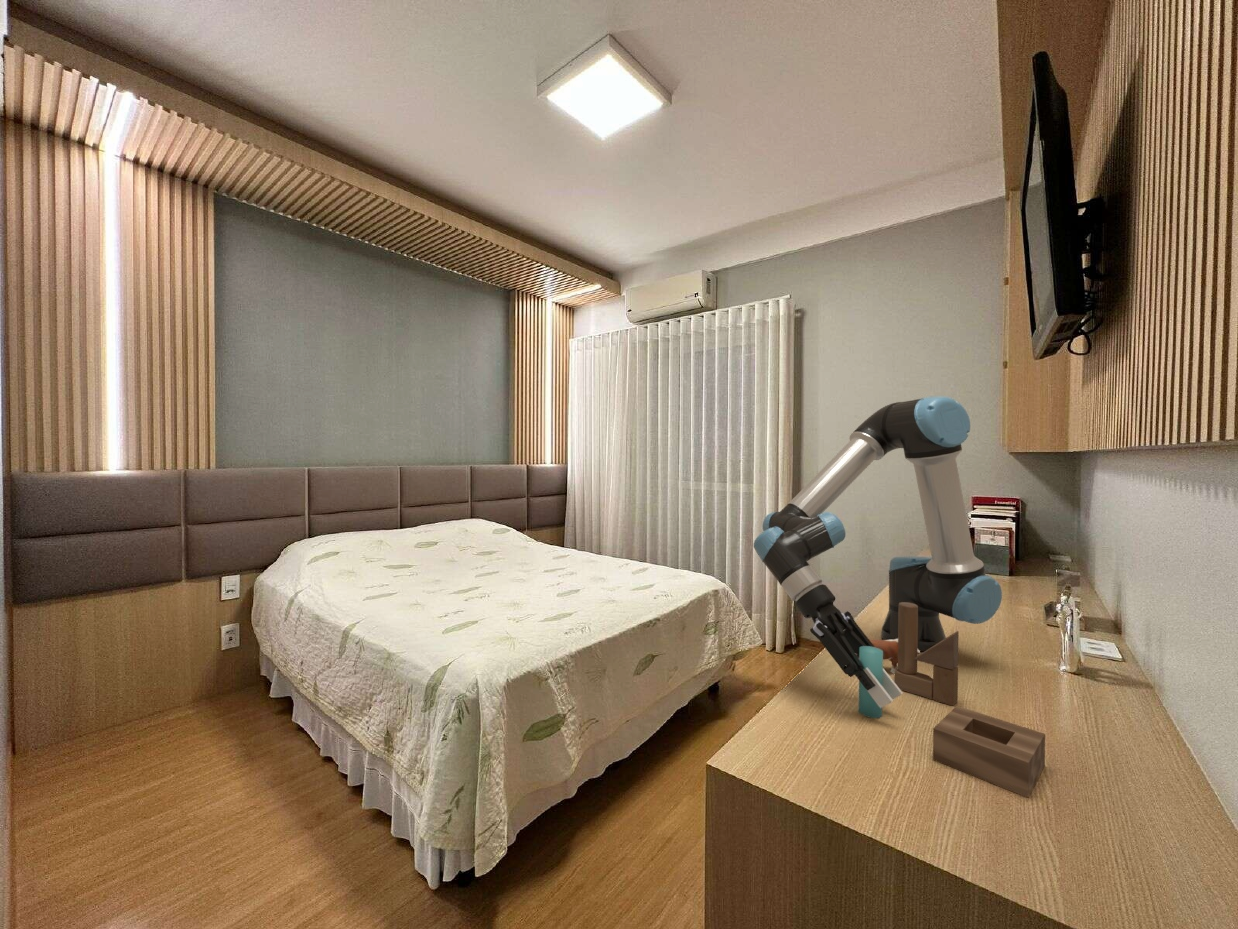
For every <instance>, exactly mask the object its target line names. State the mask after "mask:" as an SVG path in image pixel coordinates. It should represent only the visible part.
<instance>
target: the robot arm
mask: <svg viewBox="0 0 1238 929" xmlns="http://www.w3.org/2000/svg"><path fill="white" fill-rule="evenodd" d="M970 431H971V421H970V416H969V414H968V412H967V410H966V408H965V407H964V406H963V405H962V404H961V403H960V402H958V401H956V400H955V399H954V398H952V397H948V396H928V397H927V396H926V397H922V398H917V399H912V400H905V401H898V402H892V403H890V404H887V405H884V406H883V407H882V408H880V409H878V410H876V411H875V412H874V413H872V414H871V415H870V416H869V417H867V419H865V420H864V421H863V422H862V423H861V424H860V425H859V426H858V427H857V428H855V430H854V431H852V433H850V435H849V441H848V442H847V443H846V444H845V445H844V447H843V448H841V450H839V452H838V453H836V455H835V456H834V457H833V458H831V460H830V461H828V463H826V465H825V466H824V467H823V468H822V469H821V470H820V471H819V472H818V473H816V475H815V476H813V477H812V479H811V480H810V481H809V482H808V483H807V484H806V485H805V486H804V487H803V488H802V489H801V490H800V491H799V492H798V493H797V494H796V495H795V496H794V497H792V499H791V500H790V501H789V502H788V503H787V504H786V505H785V506H784V507H783V508H782V509H781V510H780V511H773V512H770V513H769V514H766V516H765V517H764V519H763V522H762V530H763V532H761V533H760V534H759V535H758V536H757V537H756V538H755V540H754V542H753V548H754V551H755V552H756V554H757V556H758V557H759V559H760V560H761V562H762V563H763V564H764V565H765V566H766V568H767V569H768V570H769V572H770V573H771V574H772V575H773V576H774V578H775V580H777V582H778V583H779V584H780V586H781V588H782V589H783V590H784V591H785V593H786V595H788V597H789V598H790V600H791V601H792V602H795V607H796V608H797V609H798V610H799V612H800V614H801V615H802V616H803V617H804V619H810V618H811V620H812V622H813V624H814V625H813V626H812V627H811V628H810V629H809V630H810V632H811V634H813V635H814V637H815V638H817V639H818V641H819V642H820V643H821V644H822V646H823V647H824V649H825V650H826V651H827V652H828V653H829V654H830V656H831V657H832V658H833V660H834V661H835V662H836V664H837V665H838V666H839V667H840V669H841V670H842V672H843V673H844V674H845V675H847V676H848V677H850V678H852V677H853V676H855V677H856V678H857V680H858V682H859V681H860V682H861V683H862V685H863V686H864V687H865V689H866V690H867V691H868V693H869V694H870V695H871V697H872V698H873V699H874V701H875V702H876V703H877V705H878V706H879V707H880V708H882V709H883V707H885V706H887V705H889V704H891V703H892V702H894V700H895V699H896V698H898V697H900V696H901V695H903V693H904V692H903V690H900V689H899V687H898V686H897V685H896V684H895V682H894V679H892V678H893V677H891V676H890V674H888V672H887V671H886V670H885V668H884V667H883V686H882V685H881V684H880V683H879V681H878V680H877V679H876V677H875V676H874V675H873V674H872V672H871V671H870V670H869V669H868V667H867V668H865V669H864V666H863V665H862V663H861V662H860V660H859V658H858V657H859V649H860V647H861V646H871V647H874V645H873V644H872V643H871V642H870V640H869V639H870V638H868V636H867V635H866V634H865V632H864V631H863V629H861V627H860V626H859V624H857V622H856V620H855V619H854V617H853V615H852V613H851V612H850V611H848V610H847V611H845V612H844V613H843V612H841V610H839V608H837V607H836V606H835V605H834V602H835V601H836V596H835V595H834V594H833V593H832V591H831V590H830V589H829V587H828V586H827V585H826V584H823V580H822V578H821V577H820V576H819V575H818V574H817V572H816V571H815V570H814V568H813V567H812V566H811V564H809V562H808V561H810V560H811V559H813V558H816V557H817V556H819V555H820V554H823V553H825V552H826V551H829V550H830V549H832V548H833V549H834V548H835V547H836V546H837V545H839V544H840V543H842V542H843V541H844V540H845V538H846V528H845V526H844V524H843V522H842V521H841V519H840V518H839V517H838V516H837V515H836V514H835V513H832V512H830V511H826V510H827V509H828V508H829V507H830V506H831V505H832V504H833V503H834V502H835V501H836V500H837V499H838V497H840V496H841V495H842V494H843V493H844V491H845V490H846V489H848V488H849V486H850V485H851V484H852V483H853V482H855V480H856V479H857V478H858V477H859V476H860V475H861V474H862V473H863V472H864V471H865V470H867V468H868V467H869V466H870V465H871V464H872V463H873V461H879V460H881V459H883V458H884V456H885V455H887V454H888V453H889V452H892V451H893V450H897V449H903V452H904V458H905V460H906V461H909V462H910V463H912V464H913V467H914V472H915V478H916V484H917V488H918V492H919V493H918V494H919V498H920V504H921V509H922V514H923V520H924V524H925V525H924V526H925V530H926V534H927V538H928V546H929V550H930V555H931V556H895V557H892V558H891V559H890V561H889V569H888V612H887V614H886V617H885V620H884V622H883V625H882V627H881V630H880V632H881V634H880V636H881V637H882V638H883V639H882V638H881V637H880V638H881V639H882V640H891V639H892V640H894V639H898V609H899V603H901V602H908V603H913V604H916V605H917V606H918V649H919V651H924V652H925V651H926V650H928V649H929V648H931V647H933V646H934V645H936V644H937V643H939V642H941V641H942V640H944V639H945V638H947V636H946V634H945V631H944V628H943V625H942V622H941V618H940V614H941V615H944V616H947V617H950V618H951V619H952V618H953V619H955V620H957V621H958V622H965V623H969V624H971V625H972V624H973V625H976V624H977V625H979V624H980V625H981V624H983V623H985V622H987V621H990V619H992V618H993V617H994V616H995V615H996V613H997V611H998V610H999V609H1000V607H1001V603H1002V599H1003V591H1002V588H1001V585H1000V583H999V582H998V581H997V580H996V579H995V578H993V577H992V576H990V575H986V570H985V566H984V565H985V564H984V562H983V561H982V560H981V559H979V558H978V557H977V556H975V554H974V549H973V548H974V547H973V543H972V538H971V533H970V526H969V523H968V516H967V512H966V506H965V500H964V496H963V495H964V494H963V490H962V486H961V485H962V484H961V480H960V474H959V470H958V464H957V460H956V459H957V457H958V456H959V455H960V454H961V452H962V451H963V446H962V444H963V443H965V441H966V440H967V439H968V437H969V434H968V433H970ZM857 656H858V657H857ZM863 669H864V670H863Z"/></svg>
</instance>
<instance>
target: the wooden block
mask: <svg viewBox="0 0 1238 929" xmlns="http://www.w3.org/2000/svg"><path fill="white" fill-rule="evenodd" d="M917 649H918V606H917V605H916V604H913V603H908V602H901V603H899V609H898V663H897V666H898V669H897V670H895V675H894V679H893V681H894V682H895V684H896V685H897V686H898V687H899V689H900V690H901V691H904V692H907V693H910V694H913V695H917V696H920V697H923V698H927V699H929V700H933V701H935V702H939V703H942V704H944V705H948V706H951V707H953V706H954V705H955V704H956V703H957V701H959V700H958V698H959V697H958V695H959V691H958V687H959V667H958V666H959V630H957V631H955V632H954V633H952V634H950V635H948V636H946V638H945V639H944V640H942V641H941V642H939V643H937V644H936V645H934V646H933V647H931V648H929V649H928V650H926V651H925V652H920V654H918V655H917ZM918 662H922V663H926V664H929V665H933V666H932V667H933V668H932V671H933V672H932V675H933V676H932V677H931V676H930V675H928V674H926V673H922V672H919V671H918Z"/></svg>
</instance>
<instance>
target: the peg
mask: <svg viewBox="0 0 1238 929" xmlns="http://www.w3.org/2000/svg"><path fill="white" fill-rule="evenodd" d="M859 660H860V662H861V663H862V665H863V666H864V669H865V668H867V667H868V669H869V670H870V671H871V672H872V674H873V675H874V676H875V677H876V679H877V680H878V681H879V683H880V684H881V685H882V686H883V668H884V660H883V651H882V650H881V649H879V648H876V647H871V646H861V647H860V649H859ZM864 669H863V670H864ZM858 712H859V714H861V715H862V716H864V717H868V718H872V719H880V718H881V717H883V707H882V708H880V707H879V706H878V705H877V703H876V702H875V701H874V699H873V698H872V697H871V695H870V694H869V693H868V691H867V690H866V689H865V687H864V686H863V685H862V683H861V682H860V681H859V680H858Z"/></svg>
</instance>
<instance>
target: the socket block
mask: <svg viewBox="0 0 1238 929" xmlns="http://www.w3.org/2000/svg"><path fill="white" fill-rule="evenodd" d="M932 730H933V732H932V734H933V735H932V738H933V739H932V740H933V741H932V760H933V761H936V762H938V763H941V764H944V765H945V766H948V767H949V768H953V769H956V770H958V771H961V772H963V773H965V774H967V775H970V776H973V777H975V778H979V779H980V780H982V781H986V782H988V783H990V784H993V785H995V786H998V787H1000V788H1003V789H1005V790H1008V791H1010V792H1012V793H1015V794H1018V795H1019V796H1022V797H1025V798H1029V797H1030V795H1031V793H1032V791H1033V790H1034V787H1035V785H1036V784H1037V782H1038V780H1039V777H1040V776H1041V773H1042V772H1043V770H1044V768H1045V766H1046V765H1045V764H1046V733H1044V732H1040V731H1038V730H1034V729H1032V728H1028V727H1025V726H1021V725H1018V724H1015V723H1013V722H1010V721H1006V720H1002V719H1000V718H998V717H993V716H990V715H987V714H984V713H981V712H978V711H974V710H971V709H968V708H966V707H964V706H963V707H962V706H960V705H959V706H958V705H956V706H955V707H953V708H952V710H950V711H949V713H947V715H946V716H944V717H943V718H942V719H941V720H940V721H939V722H938V723H937V724H935V726H934V727H933V728H932Z"/></svg>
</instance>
